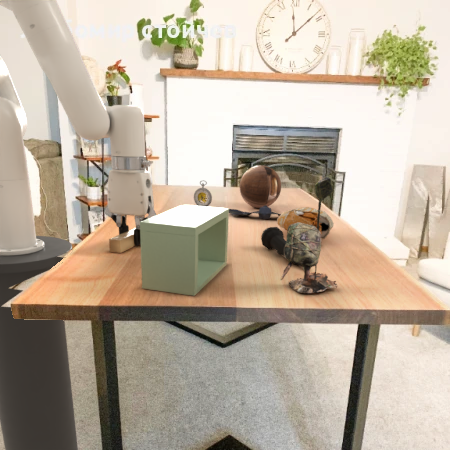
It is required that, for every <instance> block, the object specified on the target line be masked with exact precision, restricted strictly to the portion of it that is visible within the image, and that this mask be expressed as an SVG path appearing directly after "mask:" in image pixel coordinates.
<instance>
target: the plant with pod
mask: <svg viewBox="0 0 450 450" xmlns="http://www.w3.org/2000/svg"><path fill="white" fill-rule="evenodd" d="M314 191H315V195H316V198H317V199H318V206H317V210H318V215H317V228H316V227H315V226H313V225H308V224H303V223H294V224H291V225H290V226H289V227H288V230H287V231H286V239H285V240H286V245H285V247H284V256H283V257H284V259H285V260H286V261H288V264H287V266H285V268H284V270H283V273H282V275H281V277H280V281H283V280H284V278H285V277H286V275H287V274H288V272H289V271H290V269H291V268H292V265H293V262H296V263H299V264H301V265H302V266H303V267H302V269H303V273H304V275H303V278H302V277H298V278H296V279H291V280H290V281H288V283H287V284H288V285H289V287H290V288H291V289H292V290H294V291H295V292H297V293H300V294H301V293H303V294H314V293H315V294H316V293H320V292H325V291H326V290H327V289H332V288H335V289H337V288H338V284H337V283H336V282H337V280H331V279H328V274H327V273H325V272H321V273H320V272H317V265H318V263H319V259H320V257H321V256H320V255H321V251H322V249H321V248H322V240H323V239H321V232H320V231H319V218H320V211H321V207H322V202H323V201H322V200H325V199H326V198H327V197H329V198H330V199H331V200H332V199H333V198H334V197H333V194H332V193H333V191H334V189H333V185H332V180H331V178H330V177H329V176H324V177H323V178H321V179H319V180H317V182H316V183H315V184H314ZM292 261H293V262H292ZM313 267H315V270H314V271H312V272H310V270H311V268H313Z"/></svg>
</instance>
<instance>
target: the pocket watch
mask: <svg viewBox="0 0 450 450" xmlns="http://www.w3.org/2000/svg"><path fill="white" fill-rule="evenodd" d="M204 183H205V184H204ZM207 184H208V182H207V181H206V180H200V181H199V185H200V186H201V187H199V188H197V189H196V190H195V191H194V193H193V201H194V203H195V204H196V206H207V207H210V205H211V203H212V201H213V195H212V193H211V191H210V190H209V189H208V188H206V187H205V186H206V185H207Z"/></svg>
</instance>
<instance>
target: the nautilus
mask: <svg viewBox="0 0 450 450" xmlns="http://www.w3.org/2000/svg"><path fill="white" fill-rule="evenodd" d="M280 214H281V215H280V216H278V217H277V219H276V222H277V225H278V226H279V227H280V228H282V229H284V230H285V231H286V232H287V230H288V227H289V226H290V225H291V224H294V223H303V224H308V225H313V226H315V227H316V228H317V215H318V209H316V208H314V207H309V206H306V207H297V208H293V209H290V210H286V211H284V212H282V213H280ZM334 224H335V222H334V221H333V219H332V218H331V216H330V215H329V214H328V213H327V212H326V211H324V210H320V218H319V231H320V232H321V239H322V240H325V239H326V238H327V237H328V235H329V234H330V232H331V231H332V229H333V228H334V226H335V225H334Z"/></svg>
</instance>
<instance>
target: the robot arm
mask: <svg viewBox="0 0 450 450" xmlns="http://www.w3.org/2000/svg"><path fill="white" fill-rule="evenodd" d="M0 6H2V7H3V8H6V9H7V10H9V11H12V13H13V15H14V18H15V19H16V21H17V23H18V25H19V27H20V29H21V31H22V33H23V34H24V37H25V38H26V41H27V42H28V45H29V46H30V48H31V50H32V53H33V54H34V56H35V58H36V61H37V63H38V64H39V66H40V68H41V70H42V71H43V72H44V74H45V76H46V77H47V79H48V81H49V83H50V85H51V87H52V88H53V90H54V92H55V94H56V96H57V99H58V100H59V102H60V104H61V106H62V109H63V111H64V112H65V114H66V116H67V118H68V120H69V122H70V124H71V126H72V128H73V130H74V131H75V133H76V134H77V135H78V136H79V137H80V138H82V139H84V140H86V141H91V142H93V141H98V140H101V139H109V140H110V157H111V158H110V159H111V160H110V161H111V169H110V170H109V172H108V178H107V193H106V196H107V197H106V198H107V205H106V208H105V210H104V215H106V216H107V217H109V218H110V219H111V220H112V221H113V222H114V223H115V224H116V227H117V228H118V235H120V234H122V233H125V232H127V231H129V230H130V228H129V225H128V224H127V220H128V219H127V216H132V217H134V223H135V228H136V229H134V228H133V229H134V245H136V246H135V247H137V246H141V240H140V222H141V221H143V220H146V219H148V218H151V217H153V216H156V215H157V213H156V211H155V202H154V201H155V199H154V190H153V184H152V178H151V174H150V170H149V171H148V170H146V169H147V168H148V167H149V168H150V167H151V164H152V163H151V161H150V160H147V157H146V138H145V113H144V110H143V108H142V107H141V106H138V105H131V104H130V105H129V104H114V105H111V106H110V105H105V104H104V102H103V100H102V98H101V95H100V94H99V92H98V90H97V88H96V85H95V83H94V81H93V79H92V77H91V75H90V73H89V70H88V69H87V66H86V64H85V62H84V59H83V56H82V53H81V51H80V49H79V46H78V44H77V42H76V39H75V37H74V35H73V33H72V31H71V29H70V27H69V25H68V23H67V20H66V18H65V16H64V14H63V12H62V10H61V7H60V5H59V3H58V1H57V0H0ZM27 129H28V119H27V116H26V112H25V110H24V107H23V105H22V102H21V100H20V97H19V95H18V92H17V89H16V87H15V84H14V82H13V79H12V77H11V74H10V72H9V69H8V67H7V64H6V62H5V60H4V59H3V57H2V56H1V54H0V256H15V255H24V254H30V253H34V252H37V251H40V250H42V249H43V248H44V247H45V246H44V242H43V241H42V240H40V239H36V236H37V231H36V225H35V217H34V216H35V215H34V207H33V200H32V191H31V182H30V177H29V176H30V175H29V169H28V168H29V167H28V161H27V154H26V148H25V143H24V136H25V135H26V132H27ZM146 215H147V216H146Z"/></svg>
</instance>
